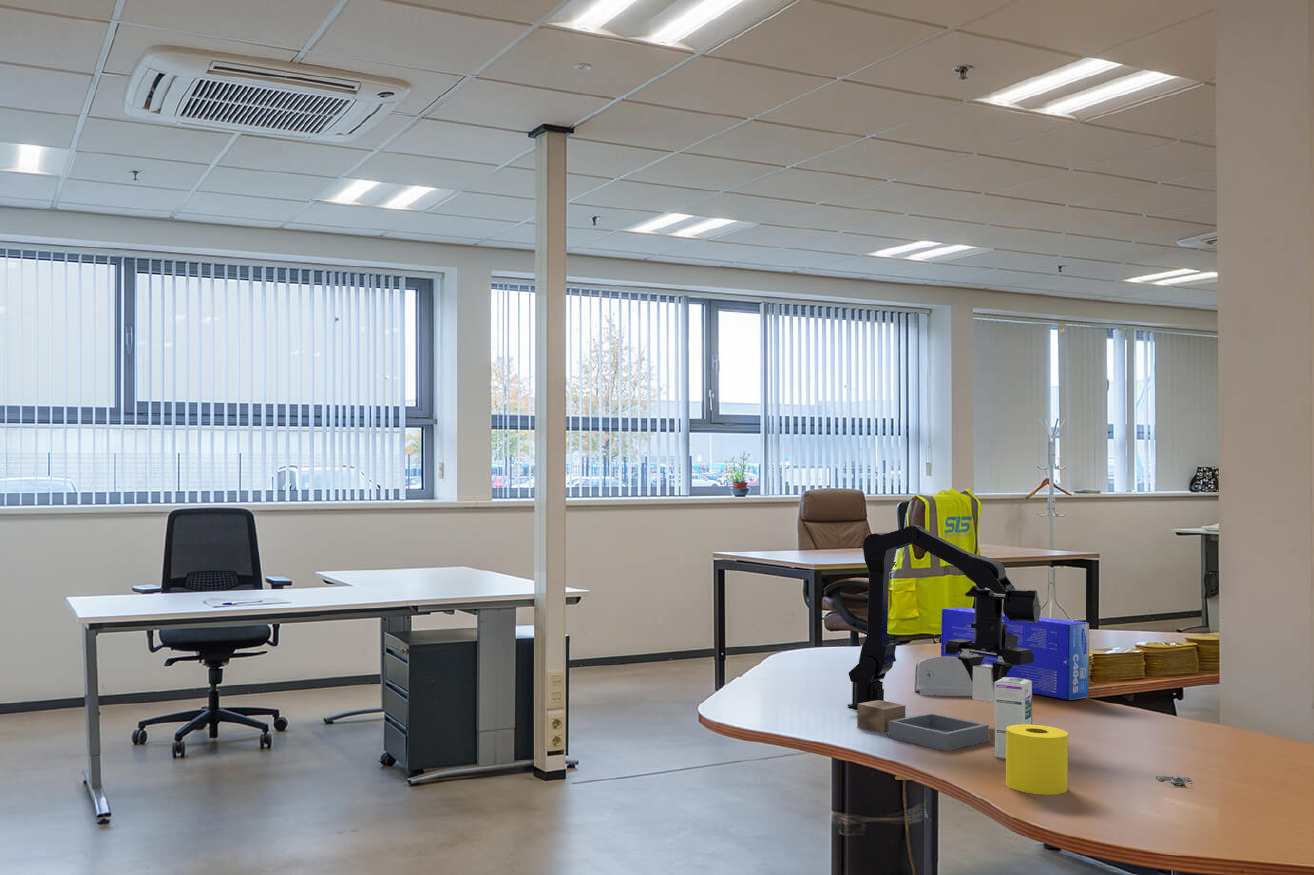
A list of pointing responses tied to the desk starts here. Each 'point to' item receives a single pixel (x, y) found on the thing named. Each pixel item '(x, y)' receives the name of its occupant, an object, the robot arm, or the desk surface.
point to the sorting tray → (938, 731)
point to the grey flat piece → (1174, 779)
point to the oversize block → (878, 715)
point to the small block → (983, 683)
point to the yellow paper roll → (1036, 759)
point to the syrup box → (1010, 708)
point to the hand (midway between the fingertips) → (987, 692)
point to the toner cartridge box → (1035, 651)
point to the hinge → (943, 677)
